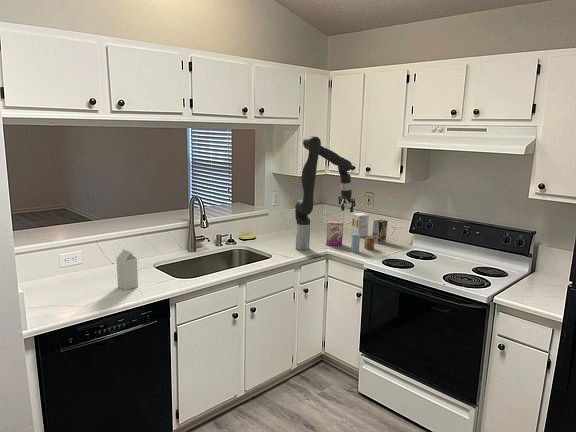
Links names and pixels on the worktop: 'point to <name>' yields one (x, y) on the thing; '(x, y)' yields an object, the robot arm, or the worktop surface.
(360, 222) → the supplement box
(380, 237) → the coffee box
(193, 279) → the worktop surface
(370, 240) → the walnut block
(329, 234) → the candy bar box
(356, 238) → the slate-blue block
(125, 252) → the milk carton
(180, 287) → the worktop surface
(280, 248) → the worktop surface
